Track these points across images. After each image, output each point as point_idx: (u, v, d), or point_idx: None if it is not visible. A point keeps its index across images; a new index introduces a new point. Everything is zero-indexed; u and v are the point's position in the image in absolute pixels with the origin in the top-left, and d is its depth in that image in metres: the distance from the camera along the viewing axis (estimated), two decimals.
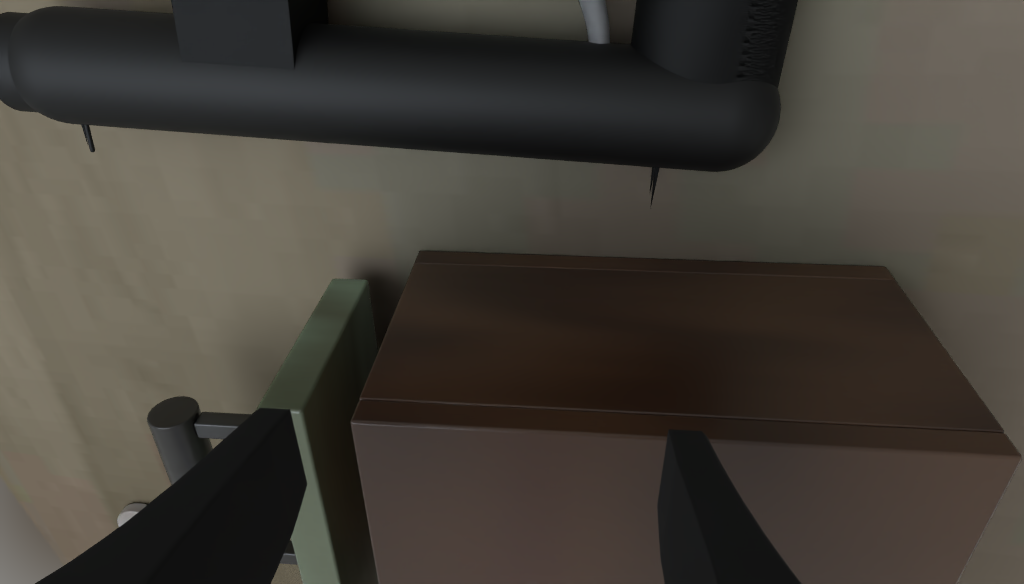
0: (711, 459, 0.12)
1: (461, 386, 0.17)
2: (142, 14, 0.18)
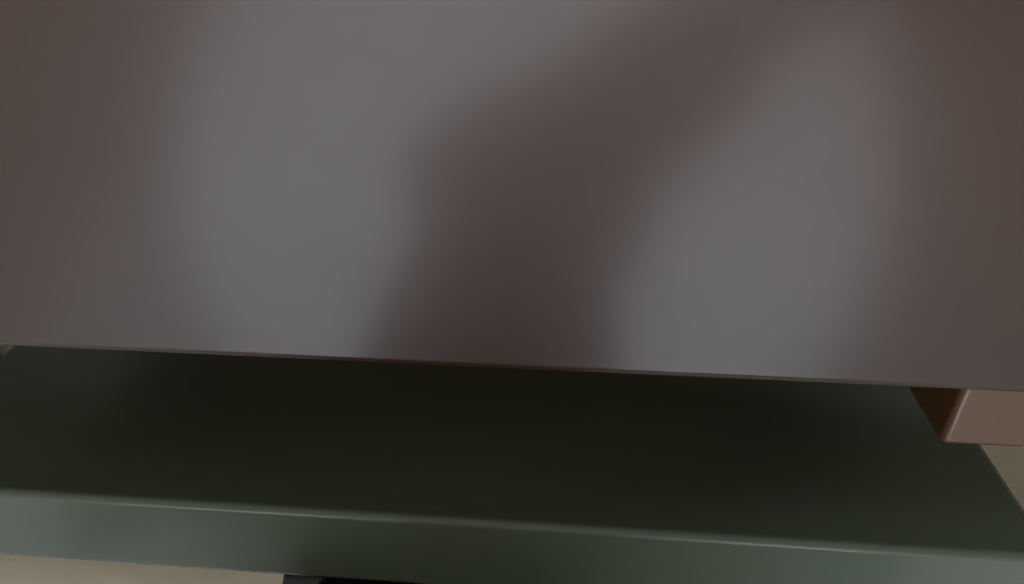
0: None
1: None
2: None
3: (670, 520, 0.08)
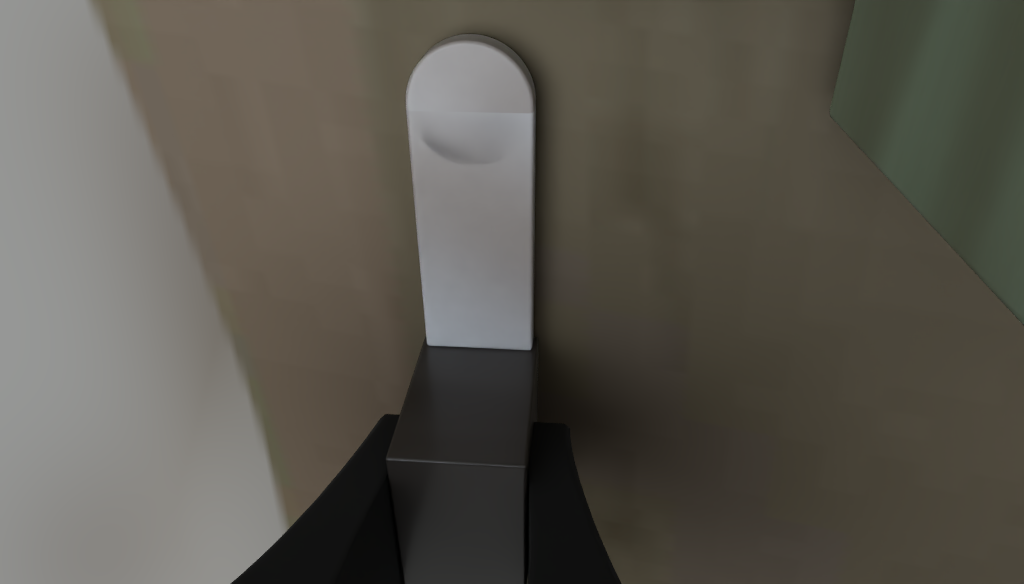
0: (561, 451, 0.12)
1: None
2: None
3: None
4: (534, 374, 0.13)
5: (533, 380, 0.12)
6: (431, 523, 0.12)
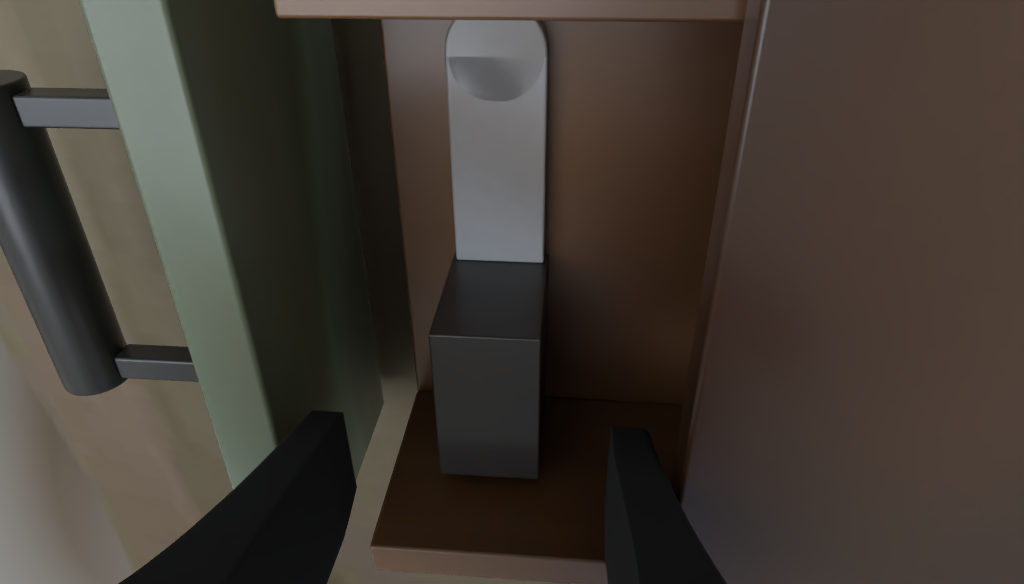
0: (649, 456, 0.12)
1: None
2: None
3: None
4: (546, 279, 0.15)
5: (545, 283, 0.15)
6: (463, 393, 0.14)
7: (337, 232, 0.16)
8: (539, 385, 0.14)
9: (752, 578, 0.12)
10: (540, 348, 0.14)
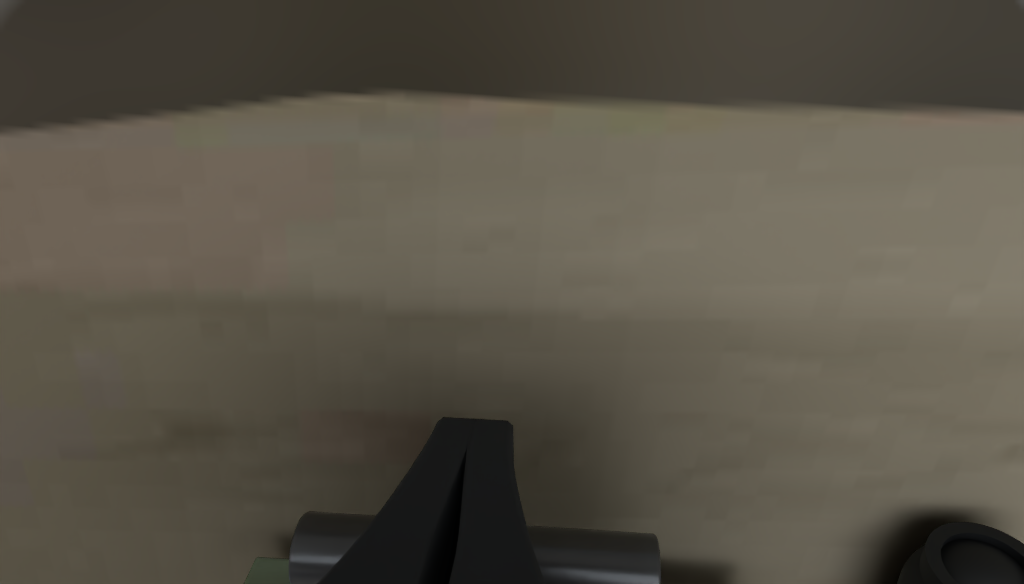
0: (501, 448, 0.12)
1: None
2: None
3: None
4: None
5: None
6: None
7: None
8: None
9: None
10: None
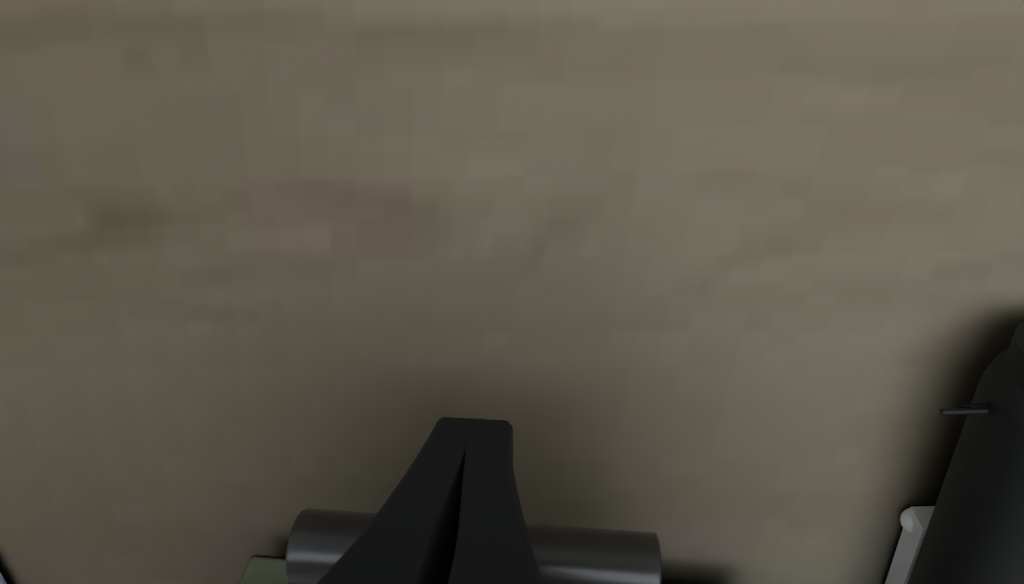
0: (499, 448, 0.12)
1: None
2: None
3: None
4: None
5: None
6: None
7: None
8: None
9: None
10: None
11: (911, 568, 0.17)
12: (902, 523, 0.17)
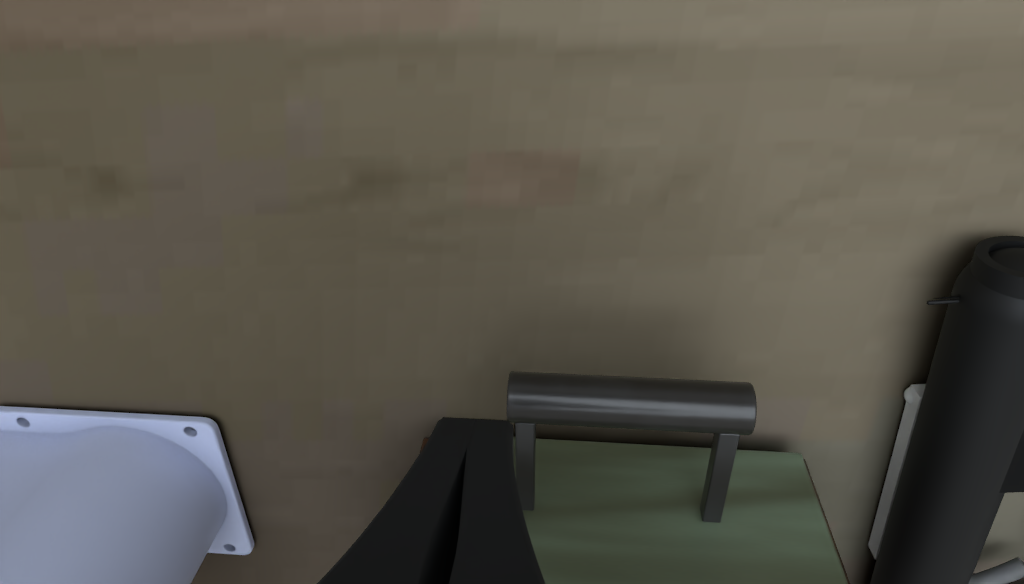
0: (500, 448, 0.12)
1: None
2: None
3: None
4: None
5: None
6: None
7: None
8: None
9: None
10: None
11: (912, 429, 0.24)
12: (905, 397, 0.24)
